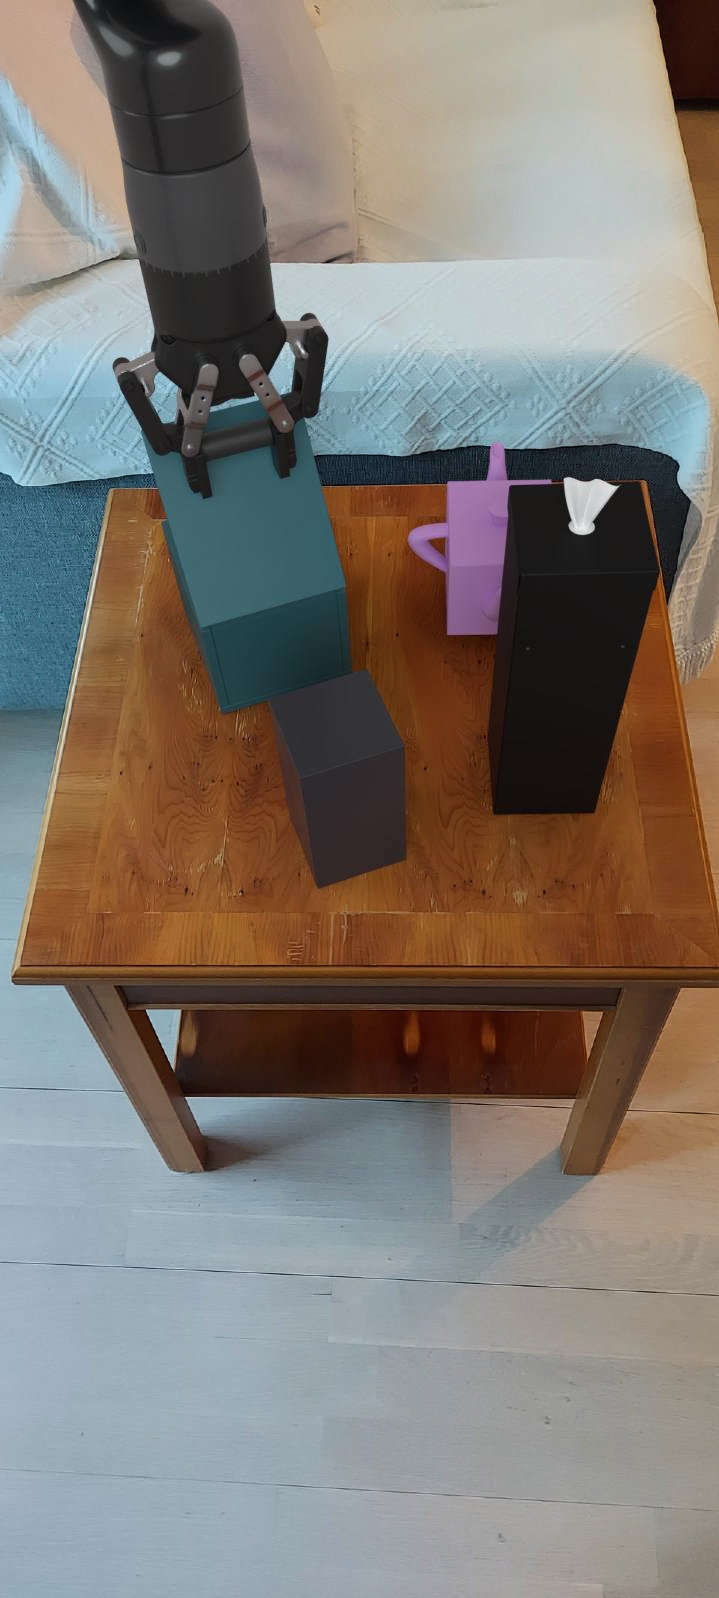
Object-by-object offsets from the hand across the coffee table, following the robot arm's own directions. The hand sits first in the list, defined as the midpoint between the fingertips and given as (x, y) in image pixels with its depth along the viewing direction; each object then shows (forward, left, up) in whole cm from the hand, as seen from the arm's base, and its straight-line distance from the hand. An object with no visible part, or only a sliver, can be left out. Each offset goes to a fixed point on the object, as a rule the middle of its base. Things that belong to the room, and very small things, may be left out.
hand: (243, 480), depth 71 cm
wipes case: (0, +3, -19) cm, 19 cm away
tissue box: (+16, -19, -19) cm, 32 cm away
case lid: (0, +1, -3) cm, 3 cm away
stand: (0, -19, -19) cm, 27 cm away
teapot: (+21, -1, -19) cm, 28 cm away
